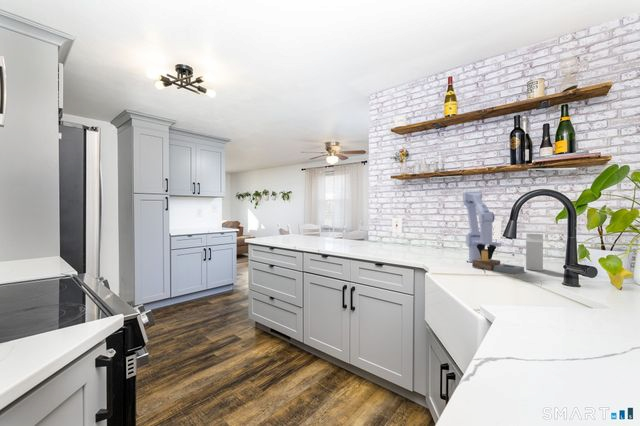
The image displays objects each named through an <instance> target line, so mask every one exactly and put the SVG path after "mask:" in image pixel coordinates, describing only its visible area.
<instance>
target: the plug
mask: <svg viewBox="0 0 640 426" xmlns="http://www.w3.org/2000/svg"><path fill="white" fill-rule="evenodd" d="M482 261H491V259H488V248H485V249H482Z"/></svg>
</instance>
